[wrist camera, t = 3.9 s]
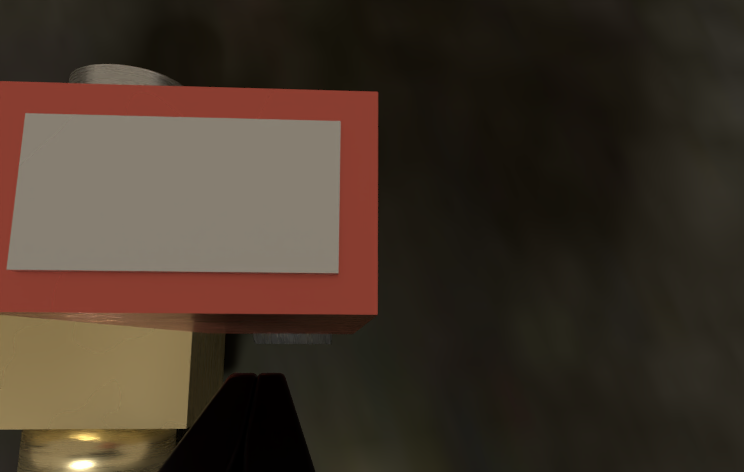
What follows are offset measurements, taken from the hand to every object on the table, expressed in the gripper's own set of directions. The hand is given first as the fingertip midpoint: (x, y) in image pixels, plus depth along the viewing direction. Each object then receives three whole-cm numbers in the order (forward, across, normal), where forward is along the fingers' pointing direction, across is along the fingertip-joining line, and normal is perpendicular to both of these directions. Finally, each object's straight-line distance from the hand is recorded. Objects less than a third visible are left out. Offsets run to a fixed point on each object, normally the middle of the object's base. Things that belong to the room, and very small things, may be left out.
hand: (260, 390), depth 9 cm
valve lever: (+6, 0, +4) cm, 8 cm away
